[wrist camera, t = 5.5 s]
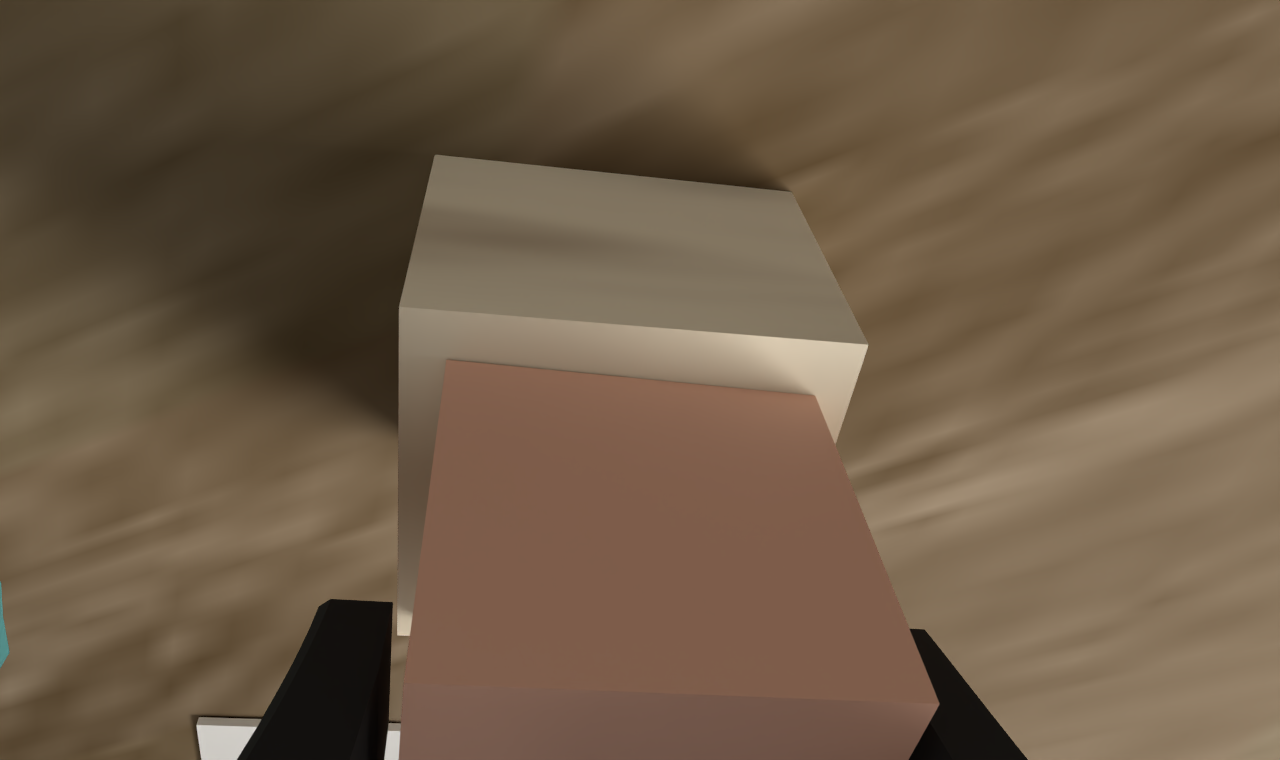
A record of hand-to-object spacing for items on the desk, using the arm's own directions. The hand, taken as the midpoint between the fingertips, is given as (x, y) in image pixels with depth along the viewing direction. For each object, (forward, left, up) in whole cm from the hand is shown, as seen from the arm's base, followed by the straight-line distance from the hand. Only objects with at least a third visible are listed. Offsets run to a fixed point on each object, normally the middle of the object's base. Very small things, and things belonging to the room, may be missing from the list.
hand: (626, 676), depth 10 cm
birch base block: (0, 0, -7) cm, 7 cm away
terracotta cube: (0, 0, -3) cm, 3 cm away
